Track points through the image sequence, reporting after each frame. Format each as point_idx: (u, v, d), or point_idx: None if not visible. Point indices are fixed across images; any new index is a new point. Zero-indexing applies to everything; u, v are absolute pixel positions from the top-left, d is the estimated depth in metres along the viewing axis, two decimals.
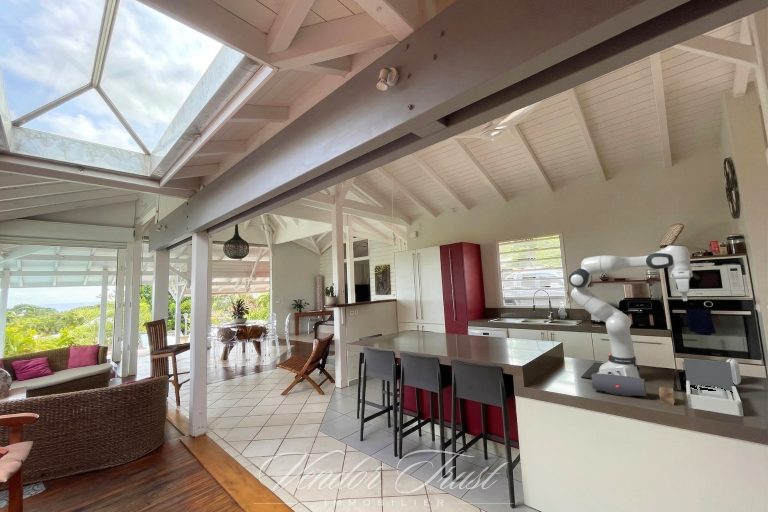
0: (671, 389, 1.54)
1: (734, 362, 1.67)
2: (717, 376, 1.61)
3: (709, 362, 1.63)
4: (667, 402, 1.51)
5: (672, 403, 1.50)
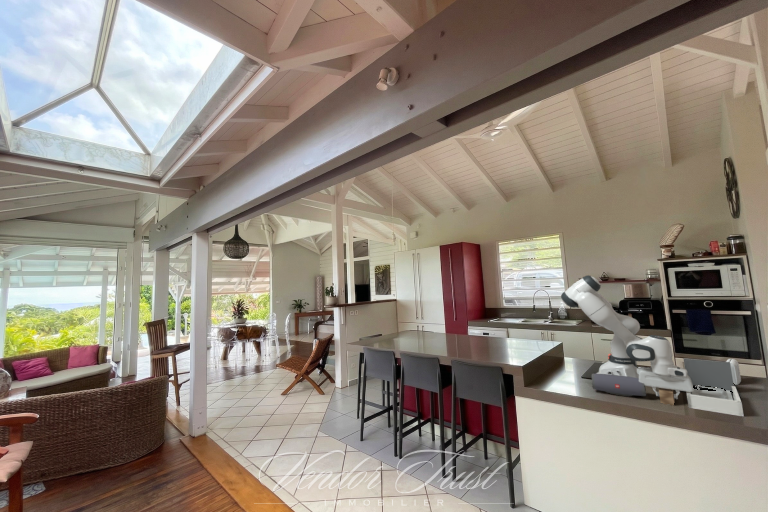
0: (671, 389, 1.54)
1: (734, 362, 1.67)
2: (717, 376, 1.61)
3: (709, 362, 1.63)
4: (667, 402, 1.51)
5: (672, 403, 1.50)
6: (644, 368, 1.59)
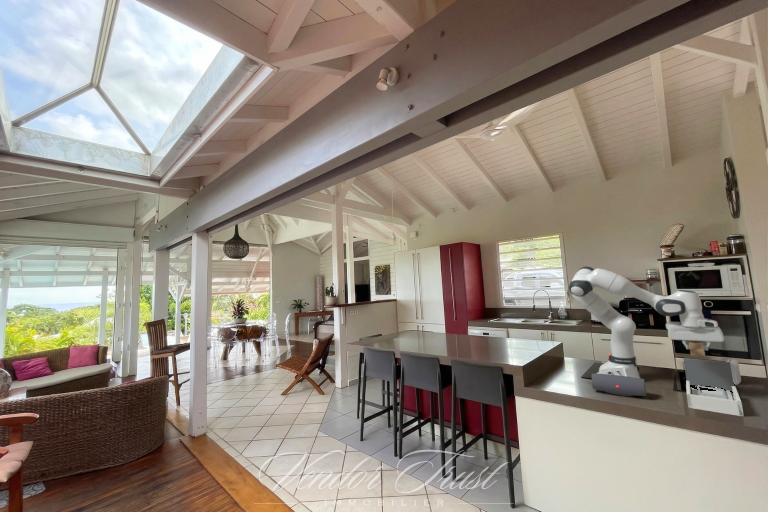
0: (701, 341, 1.57)
1: (734, 362, 1.67)
2: (717, 376, 1.61)
3: (709, 362, 1.63)
4: (697, 353, 1.54)
5: (703, 353, 1.53)
6: (673, 323, 1.63)
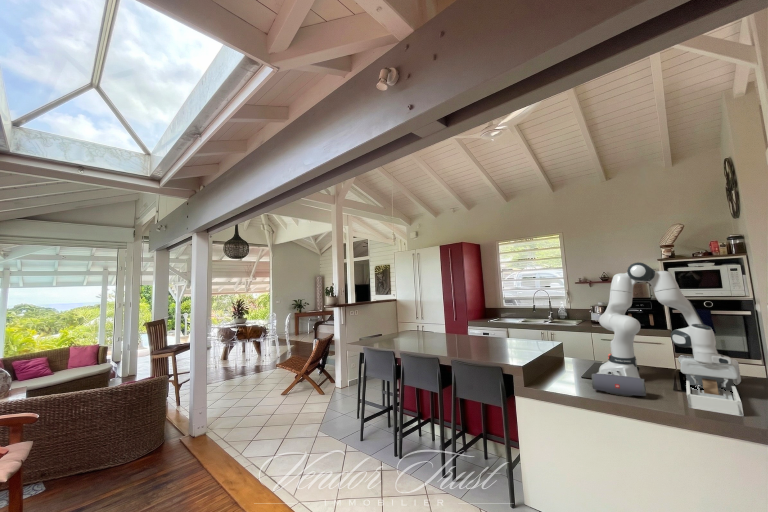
0: (714, 380, 1.57)
1: (734, 362, 1.67)
2: None
3: None
4: (711, 393, 1.54)
5: (717, 393, 1.53)
6: (686, 357, 1.62)
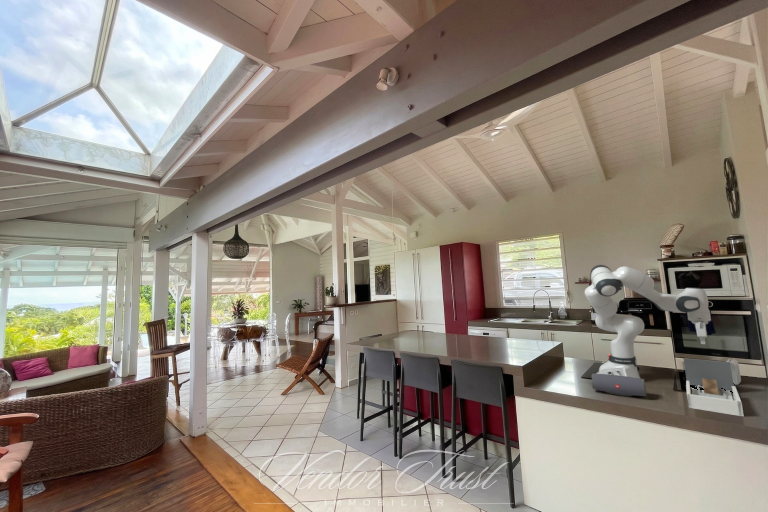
0: (714, 380, 1.57)
1: (734, 362, 1.67)
2: (717, 376, 1.61)
3: (709, 362, 1.63)
4: (711, 393, 1.54)
5: (717, 393, 1.53)
6: (700, 320, 1.64)
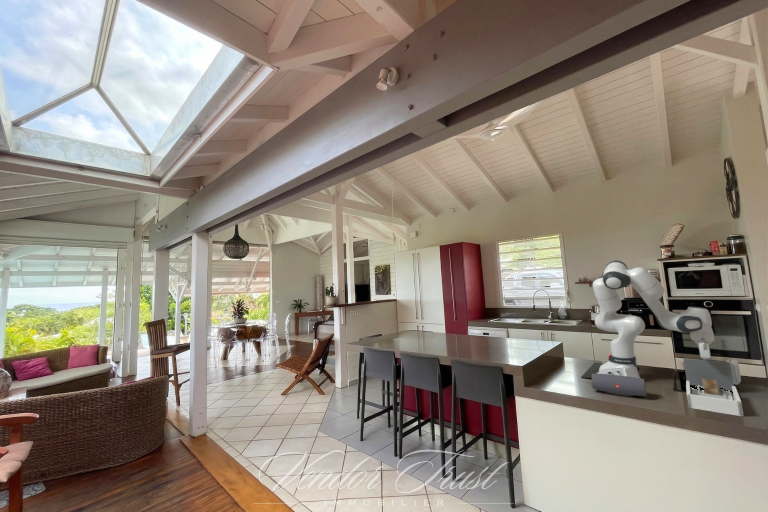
0: (714, 380, 1.57)
1: (734, 362, 1.67)
2: (717, 376, 1.61)
3: (709, 362, 1.63)
4: (711, 393, 1.54)
5: (717, 393, 1.52)
6: None
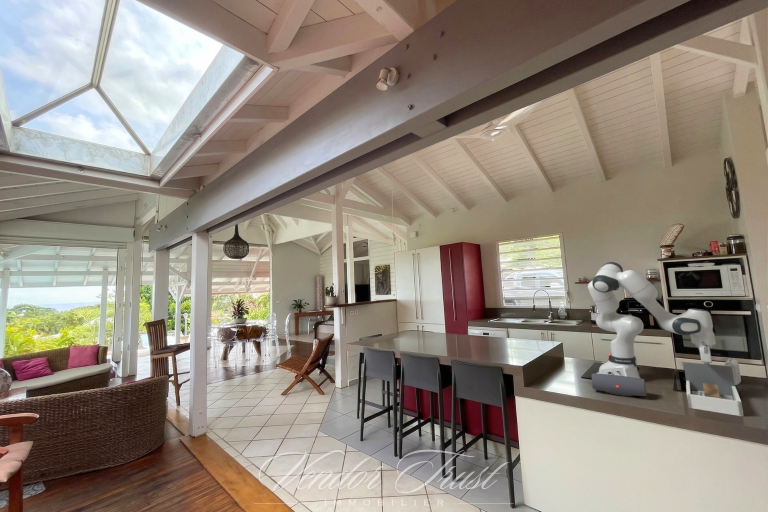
0: (716, 385, 1.51)
1: (734, 362, 1.67)
2: (718, 381, 1.55)
3: (710, 366, 1.57)
4: None
5: None
6: (704, 344, 1.55)
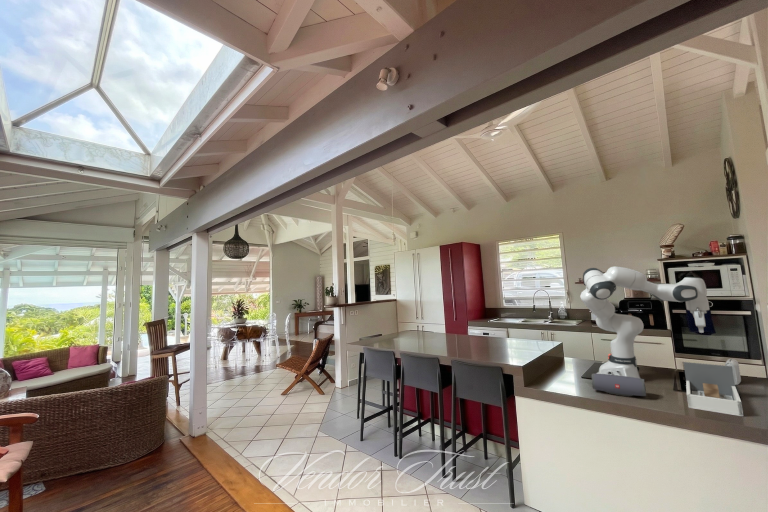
0: (716, 385, 1.51)
1: (734, 362, 1.67)
2: (718, 381, 1.55)
3: (710, 366, 1.57)
4: None
5: None
6: (699, 309, 1.63)
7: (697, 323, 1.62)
